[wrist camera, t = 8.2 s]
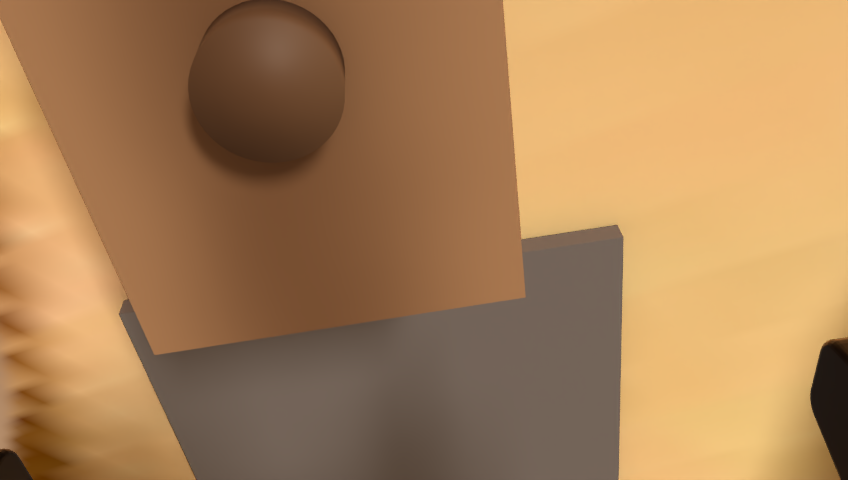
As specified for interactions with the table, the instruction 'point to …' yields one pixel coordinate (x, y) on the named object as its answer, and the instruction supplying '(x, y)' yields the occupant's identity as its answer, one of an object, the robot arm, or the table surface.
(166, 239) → the lid
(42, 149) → the table surface
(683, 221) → the table surface
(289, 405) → the mat
